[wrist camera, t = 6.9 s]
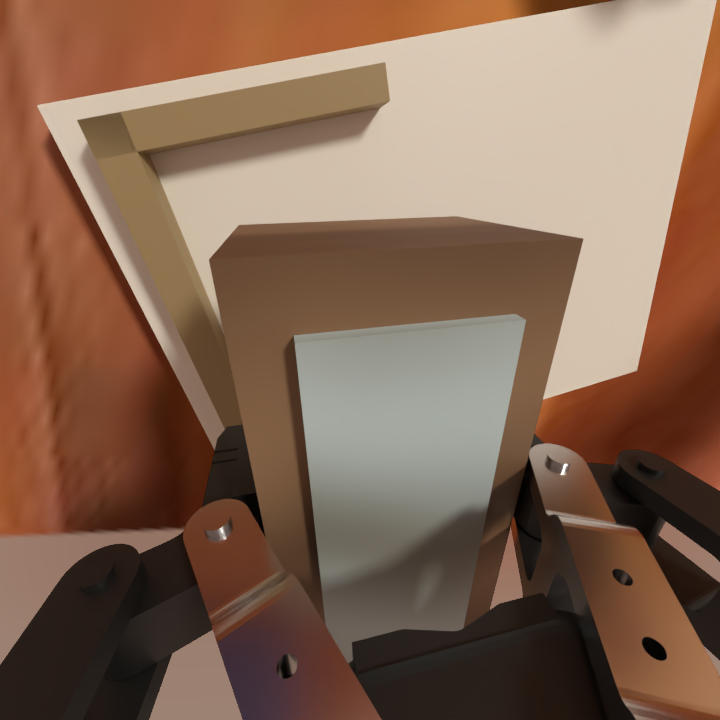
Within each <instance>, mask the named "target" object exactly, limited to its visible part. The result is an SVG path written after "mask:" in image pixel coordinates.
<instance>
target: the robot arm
mask: <svg viewBox="0 0 720 720" xmlns="http://www.w3.org/2000/svg"><path fill="white" fill-rule="evenodd" d="M214 452H215V454H214V456H213V460H212V465H211V469H210V474H209V478H208V483H207V487H206V492H205V496H204V501H203V505H202V508H201V509H199V510H198V511H197V512H196V513H195V514H194V515H193V516H192V517H191V518H190V519H189V521H188V522H187V524H186V526H185V528H184V532H183V533H181V534H180V535H178V536H177V537H175V538H174V539H171V540H170V541H167V542H165V543H163V544H161V545H159V546H156V547H154V548H152V549H150V550H147V551H145V552H143V553H141V554H139V553H138V552H137V550H136V549H135V548H134V547H132V546H130V545H126V544H114V545H109V546H106V547H103V548H100V549H98V550H96V551H94V552H92V553H90V554H88V555H87V556H85V557H83V558H82V559H81V560H79V561H78V562H77V563H75V564H74V565H73V566H72V567H71V568H70V569H69V570H68V571H67V572H66V573H65V574H64V576H63V577H62V578H61V580H60V581H59V582H58V584H57V585H56V586H55V588H54V589H53V591H52V592H51V594H50V595H49V596H48V598H47V599H46V601H45V602H44V603H43V605H42V607H41V608H40V609H39V611H38V612H37V614H36V615H35V616H34V618H33V619H32V621H31V622H30V623H29V625H28V627H27V628H26V629H25V631H24V632H23V633H22V635H21V636H20V638H19V639H18V641H17V642H16V644H15V645H14V646H13V648H12V649H11V650H10V652H9V653H8V655H7V656H6V658H5V659H4V661H3V662H2V663H1V665H0V720H149V718H150V715H151V712H152V709H153V706H154V704H155V701H156V698H157V695H158V692H159V690H160V687H161V684H162V681H163V678H164V675H165V673H166V670H167V667H168V664H169V661H170V658H171V655H172V653H174V652H175V651H177V650H179V649H180V648H182V647H184V646H185V645H187V644H189V643H191V642H192V641H194V640H196V639H197V638H199V637H201V636H202V635H204V634H206V633H208V632H209V631H211V630H213V632H214V635H215V638H216V641H217V644H218V647H219V650H220V653H221V656H222V659H223V662H224V665H225V668H226V671H227V674H228V677H229V680H230V683H231V686H232V689H233V692H234V695H235V698H236V701H237V704H238V707H239V710H240V713H241V716H242V719H243V720H720V675H719V674H718V672H717V670H716V668H715V666H714V664H713V663H712V661H711V659H710V657H709V655H708V654H707V652H706V650H705V648H704V646H705V647H706V648H707V649H708V650H709V651H710V652H711V653H712V654H713V655H715V656H716V657H717V658H718V659H719V660H720V582H718V581H716V580H715V579H714V578H712V577H711V576H710V575H709V574H707V573H706V572H705V571H703V570H702V569H701V568H699V567H698V566H697V565H696V564H695V563H693V562H692V561H691V560H689V559H688V558H687V557H685V556H684V555H683V554H682V553H680V552H679V551H678V550H676V549H675V548H673V546H671V545H670V544H669V543H667V542H666V541H665V540H663V539H662V538H661V537H660V536H658V535H659V533H660V531H661V529H662V527H663V525H664V523H665V522H666V521H667V522H668V523H669V524H671V525H672V526H674V527H675V528H676V529H678V530H679V531H680V532H682V533H684V535H686V536H687V537H689V538H690V539H692V540H693V541H694V542H696V543H697V544H698V545H700V546H701V547H702V548H704V549H705V550H707V551H708V552H709V553H711V554H712V555H713V556H714V557H716V558H717V559H718V560H719V562H720V491H719V490H717V489H715V488H714V487H712V486H710V485H709V484H707V483H705V482H704V481H702V480H700V479H698V478H697V477H695V476H693V475H692V474H690V473H688V472H687V471H685V470H683V469H682V468H680V467H678V466H677V465H675V464H673V463H672V462H670V461H668V460H666V459H664V458H663V457H660V456H658V455H656V454H653V453H650V452H646V451H642V450H625V451H622V452H620V453H619V455H618V457H617V460H616V462H615V465H609V464H596V463H586V462H585V460H584V459H583V458H582V457H581V456H579V455H578V454H577V453H575V452H574V451H572V450H570V449H568V448H566V447H563V446H560V445H556V444H547V443H546V444H545V443H543V442H542V441H541V440H540V439H539V438H538V437H537V436H536V435H535V434H534V436H533V440H532V444H531V448H530V452H529V456H528V460H527V464H526V468H525V472H524V476H523V480H522V484H521V488H520V491H519V495H518V499H517V503H516V507H515V511H514V515H513V519H512V523H511V530H512V535H513V541H514V546H515V551H516V557H517V562H518V568H519V573H520V579H521V584H522V590H523V598H520V599H516V600H512V601H509V602H504V603H501V604H498V605H497V606H495V607H494V608H492V609H491V610H490V611H488V612H487V613H485V614H484V615H482V616H481V617H479V618H478V619H476V620H475V621H473V622H472V623H470V624H469V625H467V626H466V627H465V628H463V629H461V630H458V631H436V630H413V629H401V630H397V631H393V632H389V633H385V634H382V635H378V636H374V637H370V638H366V639H362V640H359V641H355V642H352V656H353V660H352V661H351V662H349V663H348V662H347V661H346V659H345V657H344V656H343V654H342V652H341V651H340V649H339V647H338V646H337V644H336V642H335V641H334V639H333V637H332V636H331V634H330V632H329V631H328V629H327V627H326V625H325V624H324V622H323V620H322V619H321V617H320V615H319V614H318V612H317V610H316V609H315V607H314V605H313V604H312V602H311V600H310V599H309V597H308V595H307V594H306V592H305V590H304V589H303V587H302V585H301V584H300V582H299V580H298V579H297V577H296V576H295V575H294V574H293V573H292V572H291V571H289V572H288V573H287V572H286V571H285V570H284V569H283V567H282V565H281V564H280V562H279V560H278V558H277V557H276V555H275V553H274V551H273V550H272V548H271V546H270V544H269V543H268V541H267V539H266V536H265V531H264V526H263V521H262V517H261V512H260V507H259V502H258V497H257V492H256V487H255V482H254V478H253V473H252V468H251V463H250V458H249V453H248V448H247V444H246V439H245V434H244V429H243V424H242V423H241V425H235V426H228V427H226V429H225V430H224V431H223V432H222V433H221V435H220V436H219V437H218V438H217V442H216V447H215V451H214ZM703 645H704V646H703Z"/></svg>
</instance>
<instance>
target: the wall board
mask: <svg viewBox="0 0 720 720" xmlns="http://www.w3.org/2000/svg"><path fill="white" fill-rule="evenodd" d="M716 1H717V0H614V1H609V2H603V3H598V4H592V5H587V6H581V7H576V8H570V9H565V10H559V11H554V12H548V13H543V14H537V15H532V16H526V17H521V18H515V19H510V20H504V21H499V22H493V23H488V24H482V25H477V26H471V27H466V28H460V29H455V30H449V31H444V32H438V33H433V34H427V35H422V36H416V37H411V38H405V39H399V40H394V41H388V42H383V43H377V44H372V45H366V46H361V47H355V48H350V49H344V50H339V51H333V52H328V53H322V54H317V55H311V56H306V57H300V58H295V59H289V60H284V61H278V62H273V63H267V64H262V65H256V66H251V67H245V68H240V69H234V70H229V71H223V72H218V73H212V74H207V75H201V76H196V77H190V78H185V79H179V80H174V81H168V82H163V83H157V84H152V85H146V86H141V87H135V88H130V89H124V90H119V91H113V92H108V93H102V94H97V95H91V96H86V97H80V98H75V99H69V100H64V101H58V102H53V103H47V104H42V105H37V107H38V108H39V110H40V112H41V114H42V116H43V118H44V120H45V122H46V124H47V126H48V128H49V130H50V132H51V134H52V136H53V138H54V140H55V141H56V143H57V145H58V147H59V149H60V151H61V153H62V155H63V157H64V159H65V161H66V163H67V165H68V167H69V169H70V171H71V172H72V174H73V176H74V178H75V180H76V182H77V184H78V186H79V188H80V190H81V192H82V194H83V196H84V198H85V200H86V202H87V204H88V205H89V207H90V209H91V211H92V213H93V215H94V217H95V219H96V221H97V223H98V225H99V227H100V229H101V231H102V233H103V235H104V237H105V238H106V240H107V242H108V244H109V246H110V248H111V250H112V252H113V254H114V256H115V258H116V260H117V262H118V264H119V266H120V268H121V270H122V271H123V273H124V275H125V277H126V279H127V281H128V283H129V285H130V287H131V289H132V291H133V293H134V295H135V297H136V299H137V301H138V303H139V304H140V306H141V308H142V310H143V312H144V314H145V316H146V318H147V320H148V322H149V324H150V326H151V328H152V330H153V332H154V334H155V335H156V337H157V339H158V341H159V343H160V345H161V347H162V349H163V351H164V353H165V355H166V357H167V359H168V361H169V363H170V365H171V367H172V368H173V370H174V372H175V374H176V376H177V378H178V380H179V382H180V384H181V386H182V388H183V390H184V392H185V394H186V396H187V398H188V400H189V401H190V403H191V405H192V407H193V409H194V411H195V413H196V415H197V417H198V419H199V421H200V423H201V425H202V427H203V429H204V431H205V433H206V434H207V436H208V438H209V440H210V442H211V444H212V446H213V448H214V450H215V447H216V442H217V438H218V437H219V436H220V435H221V433H222V432H223V431H224V430H225V429H226V427H228V426H235V425H241V423H242V419H241V414H240V409H239V405H238V400H237V395H236V390H235V385H234V380H233V375H232V370H231V366H230V361H229V356H228V351H227V346H226V341H225V336H224V331H223V327H222V322H221V317H220V312H219V307H218V302H217V297H216V292H215V288H214V283H213V278H212V273H211V268H210V263H209V259H210V258H211V257H212V255H213V254H214V253H215V252H216V251H217V250H218V248H219V247H220V246H221V245H222V244H223V243H224V241H225V240H226V239H227V238H228V237H229V236H230V235H231V233H232V232H233V231H234V230H235V229H236V228H237V226H238V225H248V224H274V223H299V222H324V221H349V220H374V219H399V218H424V217H450V216H458V217H464V218H469V219H475V220H481V221H486V222H492V223H498V224H503V225H509V226H515V227H521V228H526V229H532V230H538V231H543V232H549V233H555V234H560V235H566V236H572V237H577V238H583V243H582V247H581V251H580V255H579V259H578V263H577V267H576V271H575V274H574V278H573V282H572V286H571V290H570V294H569V298H568V302H567V306H566V310H565V314H564V318H563V322H562V326H561V330H560V334H559V338H558V342H557V346H556V349H555V353H554V357H553V361H552V365H551V369H550V373H549V377H548V381H547V385H546V389H545V393H544V397H543V399H546V398H549V397H553V396H556V395H559V394H563V393H566V392H569V391H572V390H576V389H579V388H582V387H585V386H589V385H592V384H595V383H599V382H602V381H605V380H608V379H612V378H615V377H618V376H621V375H625V374H628V373H631V372H634V371H637V368H638V363H639V359H640V354H641V349H642V345H643V340H644V335H645V331H646V326H647V322H648V317H649V312H650V308H651V303H652V298H653V294H654V289H655V284H656V280H657V275H658V270H659V266H660V261H661V257H662V252H663V247H664V243H665V238H666V233H667V229H668V224H669V219H670V215H671V210H672V205H673V201H674V196H675V192H676V187H677V182H678V178H679V173H680V168H681V164H682V159H683V154H684V150H685V145H686V140H687V136H688V131H689V127H690V122H691V117H692V113H693V108H694V103H695V99H696V94H697V89H698V85H699V80H700V75H701V71H702V66H703V62H704V57H705V52H706V48H707V43H708V38H709V34H710V29H711V24H712V20H713V15H714V10H715V6H716Z"/></svg>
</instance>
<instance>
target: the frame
mask: <svg viewBox="0 0 720 720" xmlns="http://www.w3.org/2000/svg"><path fill="white" fill-rule="evenodd" d="M582 243H583V238H577V237H572V236H566V235H560V234H555V233H549V232H543V231H538V230H532V229H526V228H521V227H515V226H509V225H503V224H498V223H492V222H486V221H481V220H475V219H469V218H464V217H458V216H450V217H424V218H399V219H374V220H349V221H324V222H299V223H274V224H248V225H238V226H237V228H236V229H235V230H234V231H233V232H232V233H231V235H230V236H229V237H228V238H227V239H226V240H225V241H224V243H223V244H222V245H221V246H220V247H219V248H218V250H217V251H216V252H215V253H214V254H213V255H212V257H211V258H210V259H209V263H210V268H211V273H212V278H213V283H214V288H215V292H216V297H217V302H218V307H219V312H220V317H221V322H222V327H223V331H224V336H225V341H226V346H227V351H228V356H229V361H230V366H231V370H232V375H233V380H234V385H235V390H236V395H237V400H238V405H239V409H240V414H241V419H242V424H243V429H244V434H245V439H246V444H247V448H248V453H249V458H250V463H251V468H252V473H253V478H254V482H255V487H256V492H257V497H258V502H259V507H260V512H261V517H262V521H263V526H264V531H265V536H266V539H267V541H268V543H269V544H270V546H271V548H272V550H273V551H274V553H275V555H276V557H277V558H278V560H279V562H280V564H281V565H282V567H283V569H284V570H285V571H286V572H287V573H288V572H289V571H291V572H292V573H293V574H294V575H295V576H296V577H297V579H298V580H299V582H300V584H301V585H302V587H303V589H304V590H305V592H306V594H307V595H308V597H309V599H310V600H311V602H312V604H313V605H314V607H315V609H316V610H317V612H318V614H319V615H320V617H321V619H322V620H323V622H324V624H325V625H326V627H327V629H328V631H329V632H330V634H331V636H332V637H333V639H334V641H335V642H336V644H337V646H338V647H339V649H340V651H341V652H342V654H343V656H344V657H345V659H346V661H347V662H348V663H349V662H351V661H352V660H353V656H352V642H355V641H359V640H362V639H366V638H370V637H374V636H378V635H382V634H385V633H389V632H393V631H397V630H401V629H413V630H436V631H458V630H461V629H463V628H465V627H466V626H467V625H469V624H470V623H472V622H473V621H475V620H476V619H478V618H479V617H481V616H482V615H484V614H485V613H487V612H488V611H489V610H490V606H491V602H492V598H493V594H494V590H495V586H496V582H497V578H498V574H499V570H500V566H501V562H502V559H503V554H504V551H505V546H506V543H507V539H508V535H509V531H510V526H511V523H512V519H513V515H514V511H515V507H516V503H517V499H518V495H519V491H520V488H521V484H522V480H523V476H524V472H525V468H526V464H527V460H528V456H529V452H530V448H531V444H532V440H533V436H534V432H535V428H536V424H537V420H538V417H539V413H540V409H541V405H542V401H543V397H544V393H545V389H546V385H547V381H548V377H549V373H550V369H551V365H552V361H553V357H554V353H555V349H556V346H557V342H558V338H559V334H560V330H561V326H562V322H563V318H564V314H565V310H566V306H567V302H568V298H569V294H570V290H571V286H572V282H573V278H574V274H575V271H576V267H577V263H578V259H579V255H580V251H581V247H582Z"/></svg>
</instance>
